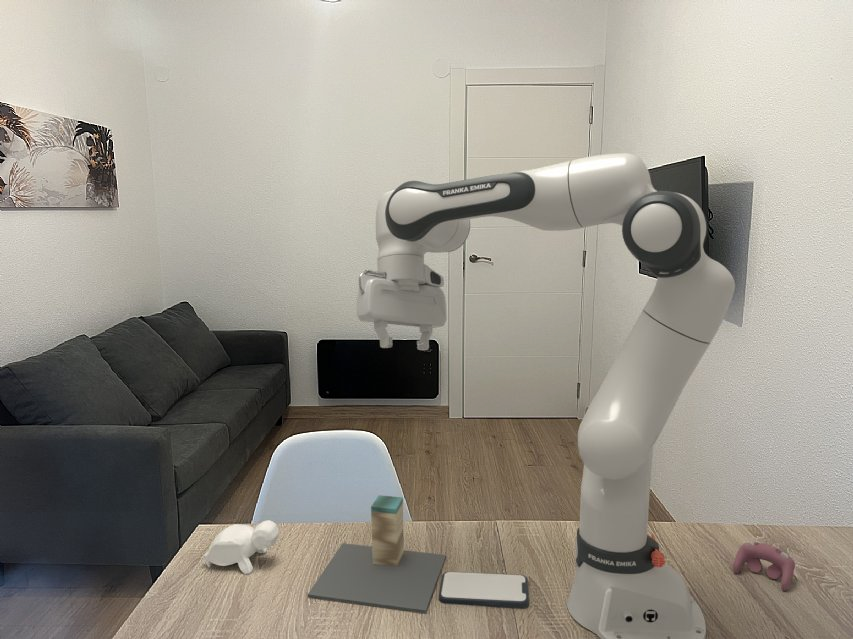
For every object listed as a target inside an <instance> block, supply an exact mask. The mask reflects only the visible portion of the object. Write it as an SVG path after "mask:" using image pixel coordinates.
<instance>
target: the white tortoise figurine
mask: <svg viewBox="0 0 853 639" xmlns="http://www.w3.org/2000/svg"><path fill="white" fill-rule="evenodd" d="M279 536H280V529H279V528H278V525H277V523H275V522H273V520H269V519H267V520H264V521H261V522H260V523H258V524H257V525H256V526H255V527H252V526H251V525H248V524H247V525H246V524H237V523H234V524H232V525H230V526H227V527H226V528H224V529H222V530H221V531H220V532H219V533H218V534H217V535H216V536H215V537H214V539H213V541H212V543H211V545H210V546H209V548H208V550H207V552H206V553H204V554H203V555H202V557H203V558H204V560H205V564H206V566H207V568H211V567H212V566H211V565H212V564H214V565H215V566H222V567H226V566H230V565H233V564H236V563H237V564H238V567H239V569H240V571H241V572H242V573H243V574H245V575H250V574H251V573H252V572H253V569H254V568H253V565H252V562H251V560H250V558H251V557H252V556H253V555H254V554H255V553H256V552H257V553H258V554H260V555H261V554H262V553H263V554H266V552H267V549H269V548H271V547H272V546H273V545H274V544H275V543H276V542H277V540H278V539H279Z"/></svg>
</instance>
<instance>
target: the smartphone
mask: <svg viewBox="0 0 853 639" xmlns="http://www.w3.org/2000/svg"><path fill="white" fill-rule="evenodd" d="M527 577H528V576H525V575H524V574H509V573H485V572H468V571H467V572H465V571H464V572H463V571H445V572H444V573H442V575H441V581H440V586H439V592H438V601H439V602H440V603H442V604H446V605H447V604H449V605H462V606H476V607H490V608H506V609H508V608H509V609H526V608H528V607H529V604H530V603H529V600H530V599H529V584H528V582H529V580H528V578H527Z"/></svg>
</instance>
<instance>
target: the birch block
mask: <svg viewBox="0 0 853 639" xmlns="http://www.w3.org/2000/svg"><path fill="white" fill-rule="evenodd" d="M370 512H371V515H370V516H371V518H370V519H371V546H372V557H373V564H380V565H389V566H398V564H399V562H400V560H401V558H402V556H403V554H404V550H405V546H404V544H405V543H404V542H405V541H404V537H405V536H404V497H401V496H391V495H378V496H377V497H376V499H375V500H374V501H373V503H372V504H371V507H370Z"/></svg>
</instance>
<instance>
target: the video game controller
mask: <svg viewBox="0 0 853 639" xmlns="http://www.w3.org/2000/svg"><path fill="white" fill-rule="evenodd" d="M761 560H762V561H766V562H769V563H771V565H769V566H767V568H766V571H765V572H766V575H767V577H769V578H771V580H778V579H779V578H781V579H780V587H781V590H782V591H783V592H785V591H788V590H789V588H790V585H791V584H792V580H793V577H794V571H795V568H796V563H795V561H794V559H793V558H792V556H790V555H789V554H787V553H786V552H784V551H783V550H781V549H779V548H777V547H776V546H772V545H770V544H767V543H762V542H754V541H747V542H745V543H743V544H741V546H740V547H739V549H738V550H737V553H736V554H735V557H734V561H733V564H732V571H733V574H738V573H739V572H741V571H742V569H743V567H744V566H745V565H746V563H747V566H748V569H749V570H750V571H751V572H753V573H760V572H762V570H763V564H762V562H761Z"/></svg>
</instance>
